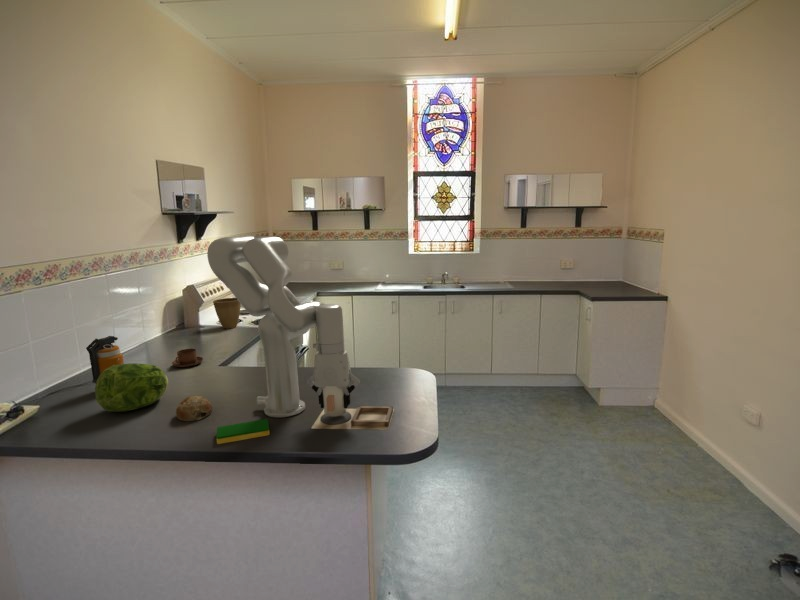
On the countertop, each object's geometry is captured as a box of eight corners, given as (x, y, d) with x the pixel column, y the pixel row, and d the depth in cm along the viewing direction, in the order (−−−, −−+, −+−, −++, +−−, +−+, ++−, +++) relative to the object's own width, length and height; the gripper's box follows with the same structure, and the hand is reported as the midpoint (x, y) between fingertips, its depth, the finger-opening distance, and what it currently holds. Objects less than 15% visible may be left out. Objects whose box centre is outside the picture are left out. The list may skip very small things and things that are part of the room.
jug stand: (311, 431, 133) (310, 423, 133) (324, 411, 147) (323, 403, 146) (388, 432, 131) (388, 424, 130) (394, 412, 144) (394, 404, 144)
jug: (327, 407, 142) (325, 379, 141) (348, 407, 142) (346, 379, 140) (319, 419, 134) (317, 389, 132) (341, 420, 133) (339, 389, 132)
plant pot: (247, 324, 277) (245, 297, 274) (236, 330, 262) (233, 301, 259) (223, 324, 278) (220, 297, 275) (210, 330, 264) (207, 302, 261)
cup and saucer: (195, 369, 195) (194, 354, 194) (167, 369, 196) (165, 355, 195) (208, 360, 207) (206, 346, 206) (181, 361, 207) (179, 347, 206)
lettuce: (179, 409, 160) (182, 363, 163) (118, 412, 142) (123, 361, 144) (148, 409, 168) (151, 365, 170) (86, 412, 149) (90, 363, 152)
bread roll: (187, 435, 143) (191, 414, 140) (166, 415, 147) (170, 394, 144) (215, 422, 151) (220, 402, 148) (195, 404, 155) (199, 384, 152)
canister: (132, 386, 176) (125, 334, 173) (103, 397, 166) (94, 342, 163) (116, 384, 180) (109, 333, 176) (87, 394, 170) (78, 340, 167)
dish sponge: (218, 434, 135) (217, 426, 134) (268, 426, 139) (267, 418, 139) (217, 445, 128) (216, 437, 128) (269, 436, 132) (269, 428, 132)
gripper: (297, 351, 133) (302, 411, 136) (358, 351, 131) (361, 412, 134) (305, 344, 140) (310, 401, 143) (363, 343, 138) (366, 401, 141)
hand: (334, 406), depth 139 cm, fingers closed on jug, 6 cm apart
